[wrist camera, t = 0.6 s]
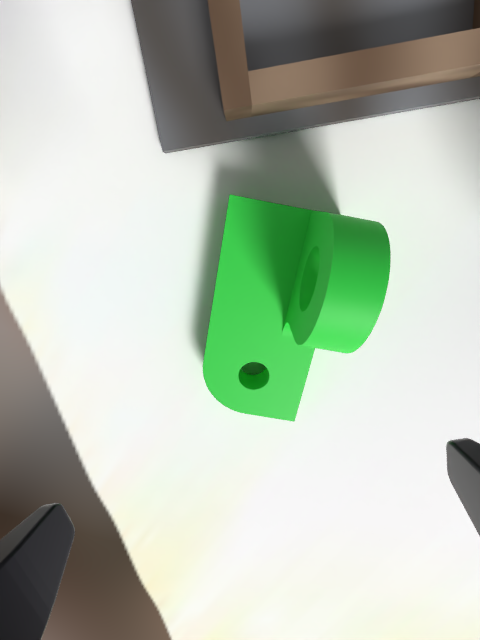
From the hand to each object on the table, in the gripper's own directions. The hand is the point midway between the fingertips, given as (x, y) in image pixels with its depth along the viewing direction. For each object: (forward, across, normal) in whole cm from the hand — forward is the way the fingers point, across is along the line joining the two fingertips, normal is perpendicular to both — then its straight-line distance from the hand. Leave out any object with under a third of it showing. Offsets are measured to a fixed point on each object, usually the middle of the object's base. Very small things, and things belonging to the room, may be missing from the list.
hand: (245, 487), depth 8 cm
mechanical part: (+13, -1, 0) cm, 13 cm away
